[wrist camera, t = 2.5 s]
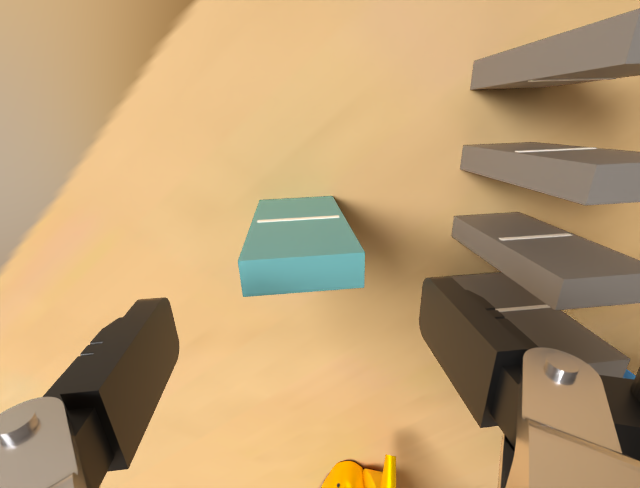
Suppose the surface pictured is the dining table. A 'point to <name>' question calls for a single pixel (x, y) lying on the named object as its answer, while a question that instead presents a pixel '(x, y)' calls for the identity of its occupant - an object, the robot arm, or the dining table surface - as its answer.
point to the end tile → (300, 249)
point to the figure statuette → (361, 475)
